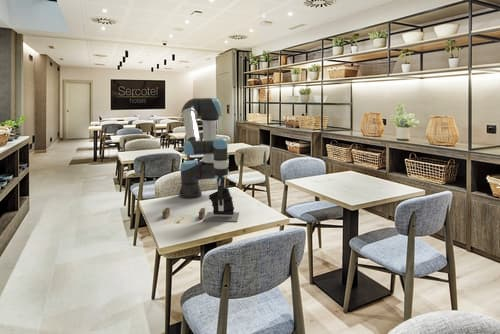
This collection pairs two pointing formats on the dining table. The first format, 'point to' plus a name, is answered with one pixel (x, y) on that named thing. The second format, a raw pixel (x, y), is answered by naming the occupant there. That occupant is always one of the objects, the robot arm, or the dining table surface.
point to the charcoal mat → (221, 217)
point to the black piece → (227, 203)
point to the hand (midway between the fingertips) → (221, 209)
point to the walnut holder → (167, 213)
